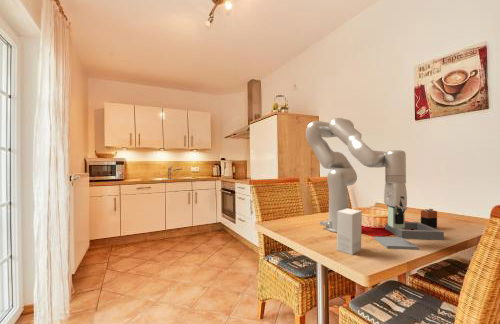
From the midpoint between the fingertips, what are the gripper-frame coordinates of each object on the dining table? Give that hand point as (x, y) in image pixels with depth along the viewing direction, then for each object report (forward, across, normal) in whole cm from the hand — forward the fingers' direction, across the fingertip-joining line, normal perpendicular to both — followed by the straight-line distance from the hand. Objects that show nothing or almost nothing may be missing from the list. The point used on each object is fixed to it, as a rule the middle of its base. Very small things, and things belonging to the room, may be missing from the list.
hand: (395, 222), depth 99 cm
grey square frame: (+9, -17, +16) cm, 25 cm away
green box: (+2, 0, 0) cm, 2 cm away
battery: (+10, -29, +32) cm, 44 cm away
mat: (+9, 0, 0) cm, 9 cm away
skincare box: (+9, +10, -22) cm, 26 cm away
